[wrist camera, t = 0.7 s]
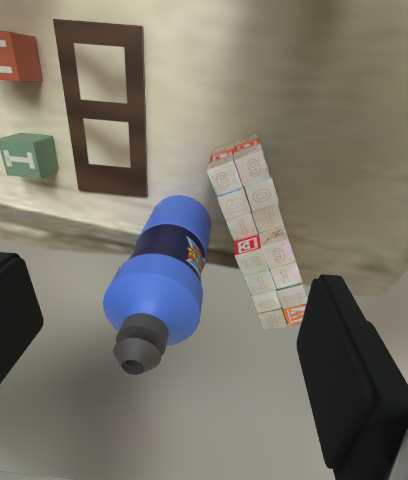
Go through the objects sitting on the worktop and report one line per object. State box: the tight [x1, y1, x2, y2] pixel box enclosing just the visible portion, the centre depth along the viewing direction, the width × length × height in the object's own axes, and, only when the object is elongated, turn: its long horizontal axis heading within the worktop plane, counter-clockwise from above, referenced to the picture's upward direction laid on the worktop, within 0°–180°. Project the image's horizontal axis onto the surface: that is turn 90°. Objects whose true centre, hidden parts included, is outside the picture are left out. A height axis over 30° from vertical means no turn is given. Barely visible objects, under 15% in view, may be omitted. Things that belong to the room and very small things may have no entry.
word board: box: [53, 19, 148, 197], centre depth 37 cm, size 20×10×1 cm, turn 176°
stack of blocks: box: [207, 134, 307, 330], centre depth 37 cm, size 21×6×12 cm, turn 21°
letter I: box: [0, 133, 58, 178], centre depth 38 cm, size 4×4×5 cm
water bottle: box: [103, 196, 211, 375], centre depth 33 cm, size 9×9×25 cm
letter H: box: [0, 31, 43, 82], centre depth 33 cm, size 4×4×5 cm
